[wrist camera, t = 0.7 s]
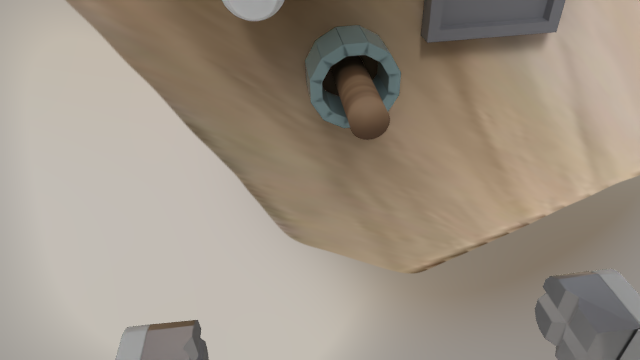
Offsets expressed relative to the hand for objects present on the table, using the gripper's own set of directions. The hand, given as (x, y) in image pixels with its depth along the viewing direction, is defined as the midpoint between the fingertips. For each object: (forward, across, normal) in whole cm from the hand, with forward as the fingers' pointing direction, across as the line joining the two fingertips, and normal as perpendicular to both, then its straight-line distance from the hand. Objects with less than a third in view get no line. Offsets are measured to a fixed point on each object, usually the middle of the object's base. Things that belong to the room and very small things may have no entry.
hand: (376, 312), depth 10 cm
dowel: (+40, -6, +10) cm, 42 cm away
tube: (+40, -6, +10) cm, 42 cm away
